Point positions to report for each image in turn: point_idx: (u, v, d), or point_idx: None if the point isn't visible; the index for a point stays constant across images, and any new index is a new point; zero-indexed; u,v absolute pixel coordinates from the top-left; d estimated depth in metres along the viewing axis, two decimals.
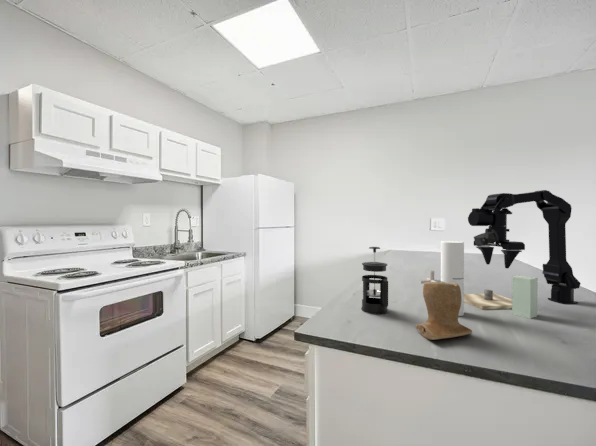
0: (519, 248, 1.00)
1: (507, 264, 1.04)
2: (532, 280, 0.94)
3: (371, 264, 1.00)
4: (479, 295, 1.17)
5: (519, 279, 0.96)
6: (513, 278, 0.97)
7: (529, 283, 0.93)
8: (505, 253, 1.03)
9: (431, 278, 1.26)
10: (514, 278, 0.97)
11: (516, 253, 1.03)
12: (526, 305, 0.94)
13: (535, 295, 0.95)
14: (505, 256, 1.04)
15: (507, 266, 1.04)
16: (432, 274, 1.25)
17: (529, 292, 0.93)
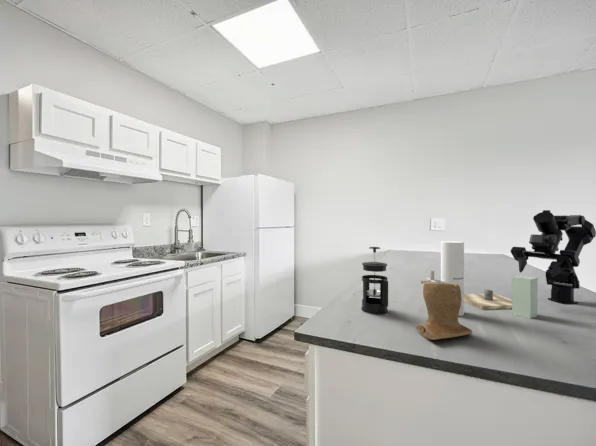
0: (577, 261, 0.95)
1: (555, 272, 0.96)
2: (532, 280, 0.94)
3: (371, 264, 1.00)
4: (479, 295, 1.17)
5: (519, 279, 0.96)
6: (513, 278, 0.97)
7: (529, 283, 0.93)
8: (560, 260, 0.97)
9: (431, 278, 1.26)
10: (514, 278, 0.97)
11: (565, 267, 0.98)
12: (526, 305, 0.94)
13: (535, 295, 0.95)
14: (557, 263, 0.97)
15: (553, 274, 0.96)
16: (432, 274, 1.25)
17: (529, 292, 0.93)
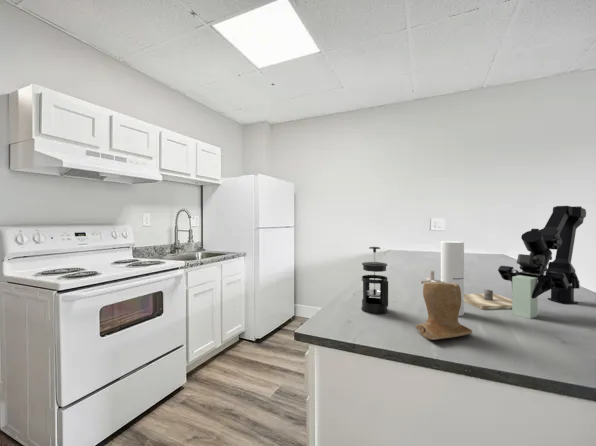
0: (566, 283, 0.91)
1: (536, 293, 0.93)
2: (532, 280, 0.94)
3: (371, 264, 1.00)
4: (479, 295, 1.17)
5: (519, 279, 0.96)
6: (513, 278, 0.97)
7: (529, 283, 0.93)
8: (541, 281, 0.94)
9: (431, 278, 1.26)
10: (514, 278, 0.97)
11: (547, 289, 0.95)
12: (526, 305, 0.94)
13: None
14: (538, 284, 0.94)
15: (534, 296, 0.93)
16: (432, 274, 1.25)
17: (529, 292, 0.93)
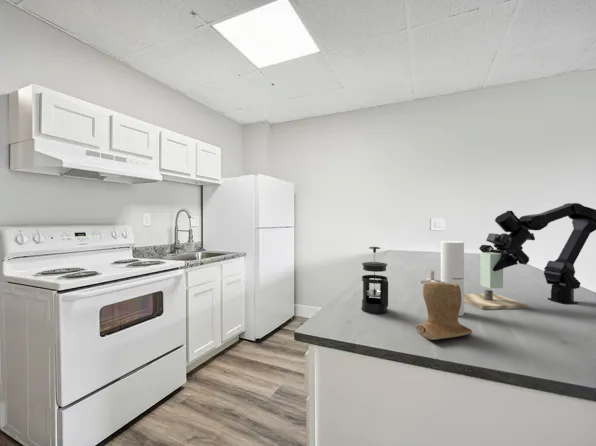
0: (523, 258, 1.01)
1: (497, 267, 1.06)
2: (493, 255, 1.07)
3: (371, 264, 1.00)
4: (479, 295, 1.17)
5: (484, 254, 1.10)
6: (480, 254, 1.12)
7: (489, 257, 1.07)
8: (503, 256, 1.06)
9: (431, 278, 1.26)
10: (481, 254, 1.11)
11: (511, 264, 1.05)
12: (488, 277, 1.08)
13: None
14: (501, 259, 1.06)
15: (495, 269, 1.06)
16: (432, 274, 1.25)
17: (489, 265, 1.07)
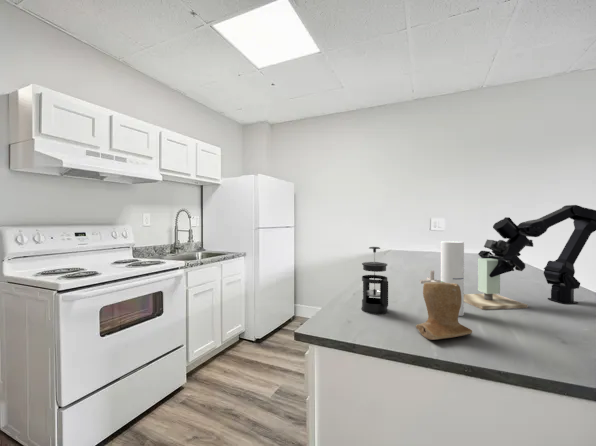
0: (519, 265, 1.02)
1: (493, 273, 1.08)
2: (490, 261, 1.09)
3: (371, 264, 1.00)
4: (479, 295, 1.17)
5: (481, 260, 1.12)
6: (478, 260, 1.14)
7: (486, 263, 1.09)
8: (499, 263, 1.07)
9: (431, 278, 1.26)
10: (479, 259, 1.13)
11: (508, 270, 1.07)
12: (484, 282, 1.10)
13: None
14: (497, 265, 1.08)
15: (492, 275, 1.08)
16: (432, 274, 1.25)
17: (486, 271, 1.09)
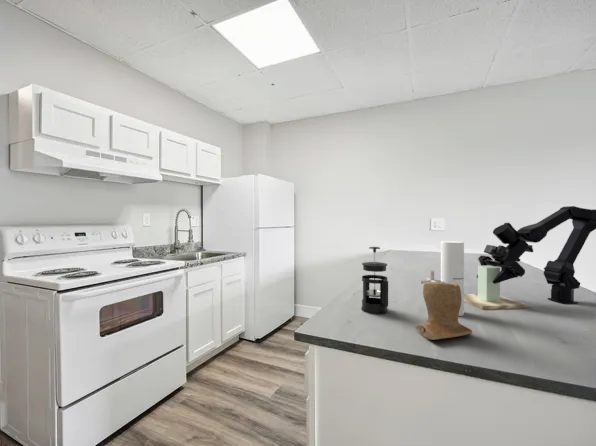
0: (518, 271, 1.02)
1: (496, 279, 1.06)
2: (490, 269, 1.09)
3: (371, 264, 1.00)
4: None
5: (481, 267, 1.12)
6: (478, 267, 1.14)
7: (486, 271, 1.09)
8: (503, 269, 1.05)
9: (431, 278, 1.26)
10: (478, 267, 1.13)
11: (511, 276, 1.05)
12: (484, 290, 1.10)
13: None
14: (501, 272, 1.06)
15: (495, 281, 1.06)
16: (432, 274, 1.25)
17: (486, 278, 1.09)
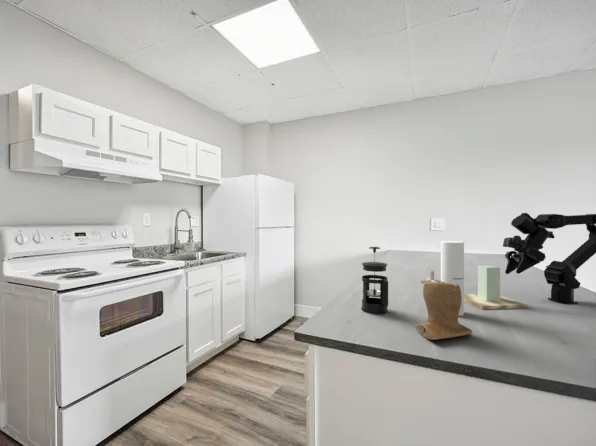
0: (537, 255, 1.03)
1: (519, 269, 1.07)
2: (490, 269, 1.09)
3: (371, 264, 1.00)
4: None
5: (481, 267, 1.12)
6: (478, 267, 1.14)
7: (486, 271, 1.09)
8: (522, 257, 1.06)
9: (431, 278, 1.26)
10: (478, 267, 1.13)
11: (534, 263, 1.05)
12: (484, 290, 1.10)
13: (496, 282, 1.09)
14: (521, 260, 1.07)
15: (518, 271, 1.07)
16: (432, 274, 1.25)
17: (486, 278, 1.09)
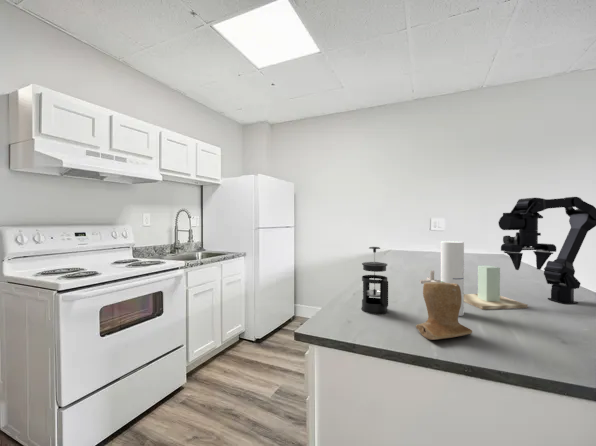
0: (507, 250, 1.09)
1: (514, 265, 1.11)
2: (490, 269, 1.09)
3: (371, 264, 1.00)
4: None
5: (481, 267, 1.12)
6: (478, 267, 1.14)
7: (486, 271, 1.09)
8: None
9: (431, 278, 1.26)
10: (478, 267, 1.13)
11: (517, 256, 1.08)
12: (484, 290, 1.10)
13: (496, 282, 1.09)
14: None
15: (515, 267, 1.11)
16: (432, 274, 1.25)
17: (486, 278, 1.09)
